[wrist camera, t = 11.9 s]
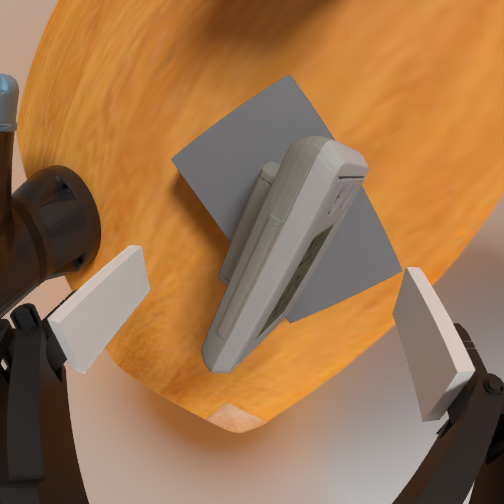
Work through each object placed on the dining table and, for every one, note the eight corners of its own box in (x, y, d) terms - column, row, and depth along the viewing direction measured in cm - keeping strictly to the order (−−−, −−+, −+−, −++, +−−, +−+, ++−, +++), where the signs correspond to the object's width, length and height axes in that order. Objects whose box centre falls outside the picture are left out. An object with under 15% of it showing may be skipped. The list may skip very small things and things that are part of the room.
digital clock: (278, 316, 28) (258, 405, 18) (200, 263, 27) (145, 337, 17) (395, 184, 20) (453, 233, 11) (304, 112, 19) (299, 98, 10)
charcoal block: (293, 295, 32) (290, 323, 28) (192, 152, 27) (170, 159, 23) (390, 247, 28) (402, 271, 23) (292, 82, 23) (289, 73, 18)
